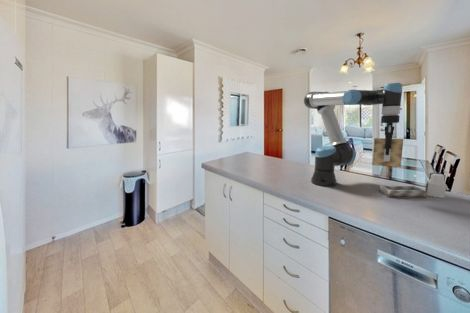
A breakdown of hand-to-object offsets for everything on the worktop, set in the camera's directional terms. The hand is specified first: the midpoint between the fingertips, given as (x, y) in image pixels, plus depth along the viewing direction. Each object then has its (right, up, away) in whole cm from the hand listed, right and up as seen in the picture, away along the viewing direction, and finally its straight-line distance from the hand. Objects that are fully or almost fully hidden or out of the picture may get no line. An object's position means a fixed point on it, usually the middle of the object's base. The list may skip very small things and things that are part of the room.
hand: (386, 160), depth 112 cm
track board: (+11, -19, +4) cm, 22 cm away
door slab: (0, -3, 0) cm, 3 cm away
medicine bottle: (+27, -19, +2) cm, 33 cm away
